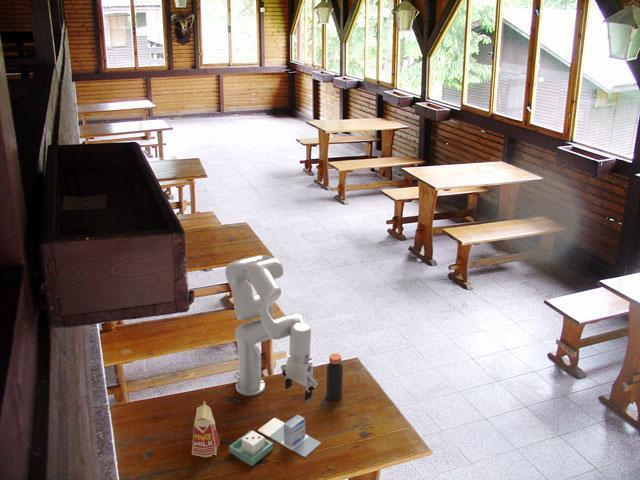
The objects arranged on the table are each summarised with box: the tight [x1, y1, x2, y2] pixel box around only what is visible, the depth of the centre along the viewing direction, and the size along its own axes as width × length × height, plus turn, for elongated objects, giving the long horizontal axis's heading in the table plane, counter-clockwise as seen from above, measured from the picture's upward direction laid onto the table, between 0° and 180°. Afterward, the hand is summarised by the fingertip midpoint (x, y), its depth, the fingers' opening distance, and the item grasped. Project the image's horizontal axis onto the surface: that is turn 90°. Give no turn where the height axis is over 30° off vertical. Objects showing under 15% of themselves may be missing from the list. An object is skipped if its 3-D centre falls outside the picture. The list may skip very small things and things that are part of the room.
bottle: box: [325, 353, 344, 402], centre depth 270 cm, size 7×7×20 cm
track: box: [257, 417, 322, 458], centre depth 249 cm, size 24×10×1 cm, turn 52°
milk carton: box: [191, 400, 221, 458], centre depth 238 cm, size 9×9×20 cm
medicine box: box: [284, 414, 306, 446], centre depth 246 cm, size 8×4×9 cm, turn 141°
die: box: [242, 430, 266, 457], centre depth 240 cm, size 6×6×6 cm
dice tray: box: [228, 430, 274, 467], centre depth 241 cm, size 12×12×3 cm
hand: (298, 392), depth 242 cm, fingers open, 9 cm apart
